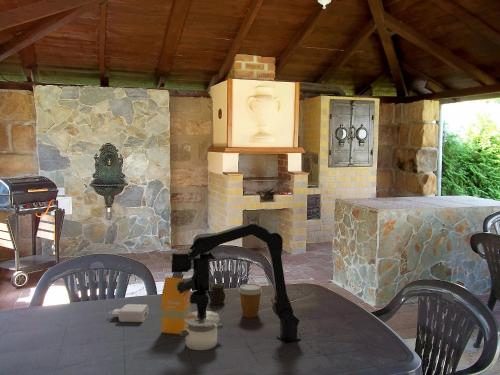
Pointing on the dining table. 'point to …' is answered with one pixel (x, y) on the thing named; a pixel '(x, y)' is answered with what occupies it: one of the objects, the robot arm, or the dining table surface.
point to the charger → (131, 313)
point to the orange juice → (174, 306)
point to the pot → (201, 336)
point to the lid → (201, 319)
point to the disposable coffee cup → (250, 299)
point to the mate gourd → (217, 294)
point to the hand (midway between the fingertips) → (201, 314)
